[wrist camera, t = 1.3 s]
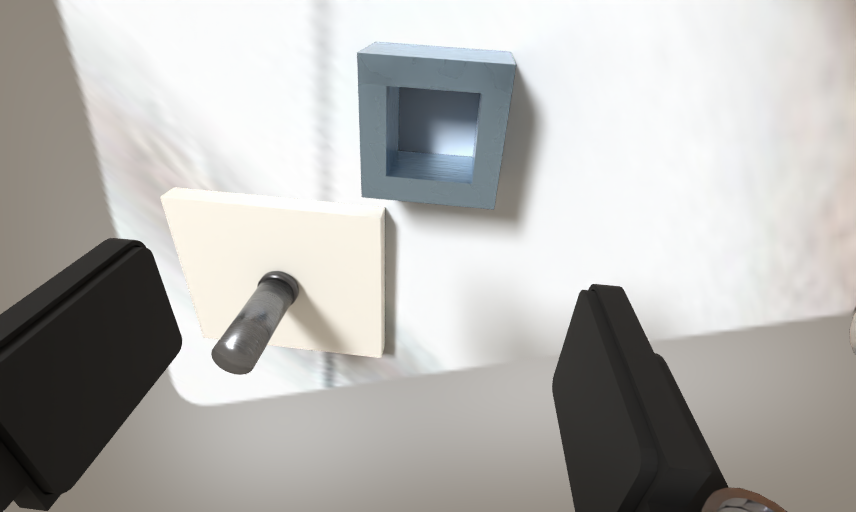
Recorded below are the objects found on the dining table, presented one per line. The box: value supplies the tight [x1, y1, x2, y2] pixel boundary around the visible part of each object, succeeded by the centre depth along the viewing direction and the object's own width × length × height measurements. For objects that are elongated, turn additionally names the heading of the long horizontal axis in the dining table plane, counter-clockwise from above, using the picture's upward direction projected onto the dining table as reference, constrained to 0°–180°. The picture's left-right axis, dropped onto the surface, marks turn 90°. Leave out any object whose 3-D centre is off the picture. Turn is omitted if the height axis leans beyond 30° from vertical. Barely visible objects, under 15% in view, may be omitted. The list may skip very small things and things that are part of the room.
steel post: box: [212, 271, 299, 375], centre depth 27 cm, size 3×3×7 cm
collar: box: [357, 42, 516, 209], centre depth 22 cm, size 7×7×4 cm
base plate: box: [160, 187, 385, 358], centre depth 31 cm, size 14×12×2 cm
